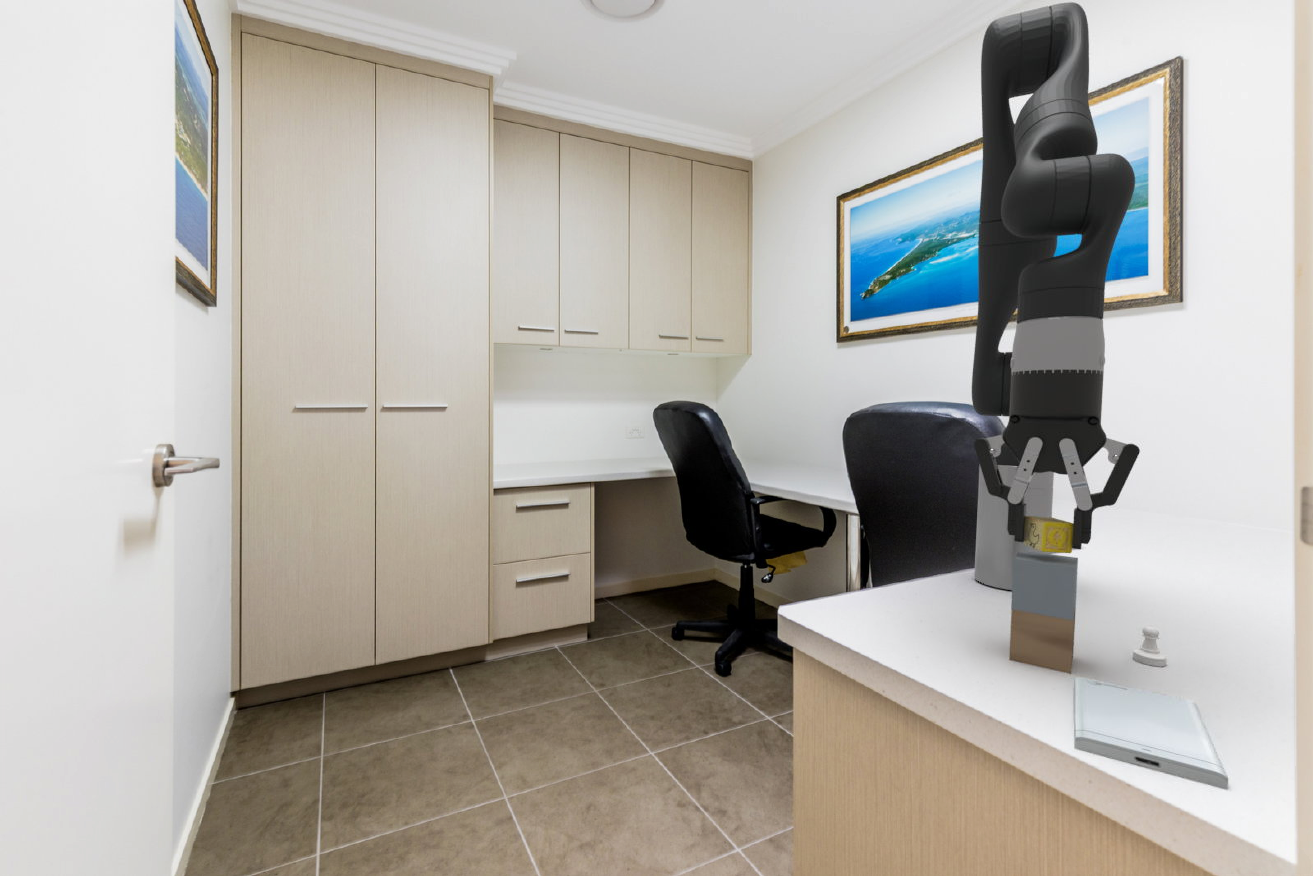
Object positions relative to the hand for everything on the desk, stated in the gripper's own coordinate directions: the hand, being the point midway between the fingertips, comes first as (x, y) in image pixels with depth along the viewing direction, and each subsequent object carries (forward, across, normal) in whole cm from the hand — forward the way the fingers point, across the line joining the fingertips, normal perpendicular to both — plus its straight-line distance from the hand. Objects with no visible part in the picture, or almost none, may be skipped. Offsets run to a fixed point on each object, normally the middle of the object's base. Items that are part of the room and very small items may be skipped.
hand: (1047, 543), depth 60 cm
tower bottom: (+11, 0, 0) cm, 11 cm away
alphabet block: (+1, 0, 0) cm, 1 cm away
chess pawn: (+12, -9, -6) cm, 16 cm away
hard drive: (+12, -7, +12) cm, 18 cm away
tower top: (+6, 0, 0) cm, 6 cm away
